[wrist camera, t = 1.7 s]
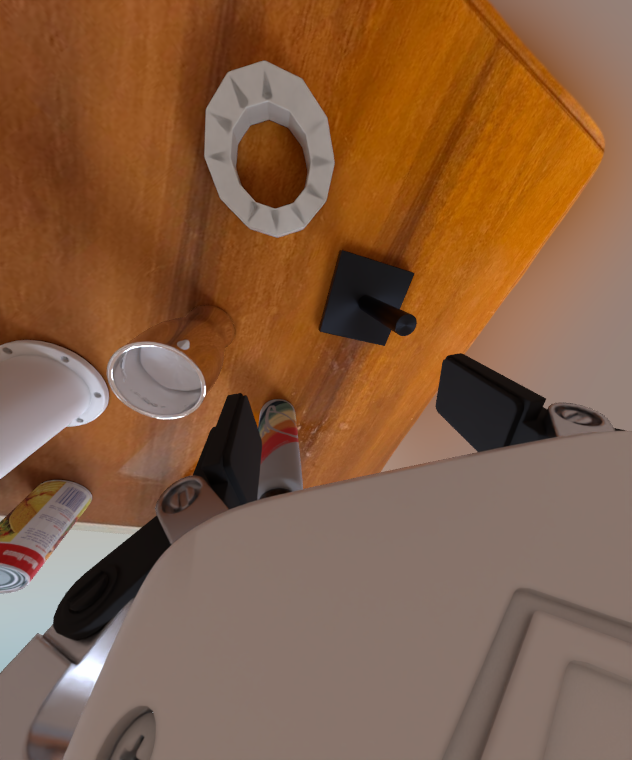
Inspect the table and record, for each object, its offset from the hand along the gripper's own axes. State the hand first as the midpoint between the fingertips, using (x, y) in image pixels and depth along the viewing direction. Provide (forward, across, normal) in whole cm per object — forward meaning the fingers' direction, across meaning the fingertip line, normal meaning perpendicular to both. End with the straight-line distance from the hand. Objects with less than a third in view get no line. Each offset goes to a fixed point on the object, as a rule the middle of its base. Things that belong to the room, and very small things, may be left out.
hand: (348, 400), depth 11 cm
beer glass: (+23, +13, +1) cm, 26 cm away
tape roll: (+22, +1, -14) cm, 27 cm away
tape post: (+22, -8, 0) cm, 24 cm away
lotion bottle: (+23, +7, +16) cm, 29 cm away
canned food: (+22, +46, +25) cm, 57 cm away
